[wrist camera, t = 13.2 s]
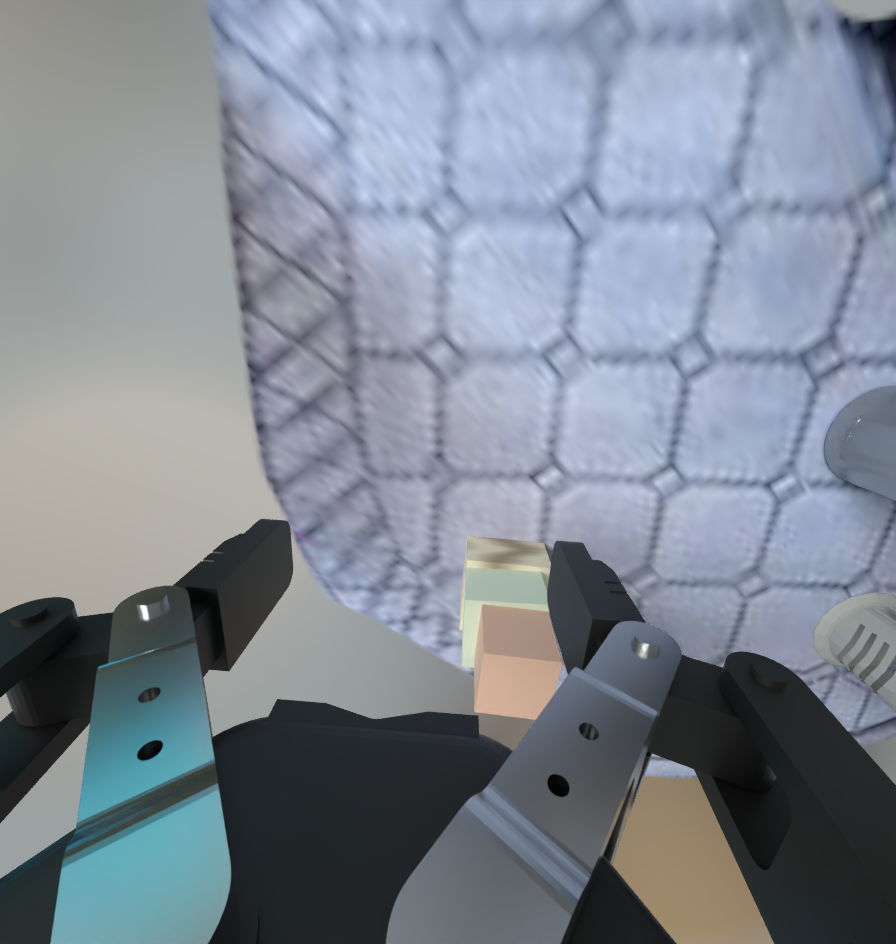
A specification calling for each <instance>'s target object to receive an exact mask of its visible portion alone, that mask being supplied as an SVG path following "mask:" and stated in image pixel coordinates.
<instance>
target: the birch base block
mask: <svg viewBox="0 0 896 944" xmlns="http://www.w3.org/2000/svg"><path fill="white" fill-rule="evenodd" d="M466 567H473V568H490V569H508V570H525V571H541V574H542V577H543V581H544V584H545V587H546V591H547V587H548V580H549V574H550V568H551V562H550V559H549V556H548V553H547V551H546V548H545V545H544V543H537V542H526V541H516V540H506V539H496V538H485V537H475V536H467V544H466V553H465V562H464V572H463V581H462V590H461V600H460V624H459V630H463V610H464V592H465V573H466Z"/></svg>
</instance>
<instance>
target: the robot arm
mask: <svg viewBox="0 0 896 944" xmlns="http://www.w3.org/2000/svg"><path fill="white" fill-rule="evenodd" d="M825 457H826V462H827V464H828V465H829V467H830V469H831V470H832V471H833V473H834V474H835V475H836V476H838V477H839V478H841V479H843V480H844V481H847V482H849V483H852V484H854V485H857V486H859V487H862V488H864V489H867V490H870V491H872V492H875V493H877V494H880V495H882V496H884V497H887V498H889V499H892V500H894V501H896V386H887V387H882V388H879V389H875V390H872V391H870V392H868V393H866V394H864V395H862V396H860V397H858V398H857V399H855V400H854V401H853V402H851V403H850V404H849V405H848V406H847V407H845V408H844V409H843V410H842V411H841V412H840V414H839V415H838V416H837V418H836V419H835V420H834V422H833V423H832V425H831V427H830V429H829V431H828V434H827V437H826V441H825ZM292 574H293V560H292V546H291V532H290V525H289V523H288V522H287V521H283V520H270V519H260V520H259V521H258V522H256V523H255V524H254V525H253V526H252V527H251V528H250V529H249V530H248V531H246V533H244V534H239V535H237V536H235V537H233V538H230V539H228V540H226V541H224V542H223V543H222V544H221V545H219V547H217V548H216V549H215V550H214V551H213V553H210V554H209V555H208V556H207V557H206V558H204V559H203V562H200V563H199V564H198V565H196V566H195V567H194V568H193V569H192V570H190V571H189V572H188V573H187V574H186V575H185V576H184V577H182V578H181V579H180V580H179V581H178V582H177V583H175V584H174V585H173V586H160V587H154V588H150V589H146V590H144V591H140V592H138V593H136V594H134V595H132V596H130V597H128V598H127V599H125V600H124V601H122V602H121V603H120V604H119V605H118V606H117V607H116V608H115V610H114V612H113V613H105V614H97V615H89V616H80V617H78V616H77V613H76V609H75V606H74V603H73V601H72V600H70V599H67V598H61V597H52V598H44V599H38V600H34V601H30V602H27V603H24V604H21V605H18V606H16V607H13V608H11V609H9V610H7V611H4V612H3V613H1V614H0V697H2V696H3V695H4V694H5V693H6V695H7V697H8V700H9V702H10V705H11V708H12V710H13V711H12V712H11V713H10V714H9V715H8V716H6V717H5V718H4V719H3V720H2V721H1V722H0V823H1V822H2V821H3V820H4V819H5V817H6V816H7V815H8V814H9V813H10V812H11V811H12V809H13V808H14V807H15V806H16V805H17V804H18V803H19V801H21V800H22V798H23V797H24V796H25V795H26V794H27V793H28V792H29V791H30V789H31V788H32V787H33V786H34V785H35V784H36V783H37V781H39V779H40V778H41V777H42V776H43V775H44V774H45V773H46V772H47V770H48V769H49V768H50V767H51V766H52V765H53V764H54V763H55V761H56V760H57V759H58V758H59V757H60V756H61V755H62V754H63V753H64V751H65V750H66V749H67V748H68V747H69V746H70V745H71V744H72V742H73V741H74V740H75V739H76V738H77V737H78V735H80V734H81V732H82V731H83V730H84V729H85V728H86V727H87V726H88V724H89V723H90V727H89V734H88V742H87V749H86V757H85V765H84V772H83V780H82V788H81V796H80V803H79V811H78V818H77V825H76V828H75V829H74V830H73V831H71V832H69V833H68V834H66V835H65V836H63V837H62V838H60V839H59V840H58V841H56V842H55V843H53V844H52V845H50V846H49V847H47V848H46V849H44V850H43V851H41V852H40V853H38V854H37V855H35V856H34V857H32V858H31V859H29V860H28V861H26V862H25V863H23V864H22V865H20V866H19V867H17V868H16V869H14V870H13V871H11V872H10V873H9V874H7V875H5V876H4V877H2V878H1V879H0V944H676V943H675V941H674V940H673V939H672V938H671V936H670V935H669V934H668V933H667V932H666V931H665V929H664V928H663V927H662V926H661V924H660V923H659V922H658V921H657V919H656V918H655V917H654V916H653V915H652V913H651V912H650V911H649V910H648V909H647V907H646V906H645V905H644V904H643V902H642V901H641V900H640V899H639V898H638V896H637V895H636V894H635V893H634V891H633V890H632V889H631V888H630V887H629V885H628V884H627V883H626V882H625V881H624V879H623V878H622V877H621V876H620V874H619V873H618V872H617V871H616V870H615V868H614V867H613V866H612V864H613V861H614V858H615V855H616V852H617V849H618V847H619V843H620V840H621V837H622V834H623V832H624V829H625V826H626V823H627V820H628V817H629V815H630V812H631V810H632V807H633V804H634V802H635V799H636V796H637V793H638V790H639V788H640V786H641V783H642V780H643V778H644V775H645V772H646V770H647V767H648V764H649V762H650V759H651V756H652V754H655V755H658V756H660V757H663V758H666V759H668V760H671V761H674V762H676V763H679V764H682V765H684V766H687V767H690V768H692V769H694V770H695V772H696V774H697V777H698V779H699V781H700V783H701V785H702V788H703V790H704V792H705V794H706V796H707V798H708V801H709V803H710V805H711V807H712V809H713V811H714V814H715V816H716V818H717V820H718V822H719V824H720V827H721V829H722V831H723V833H724V835H725V838H726V840H727V842H728V844H729V846H730V848H731V850H732V853H733V855H734V857H735V859H736V861H737V864H738V866H739V868H740V870H741V872H742V875H743V877H744V879H745V881H746V883H747V885H748V887H749V890H750V892H751V894H752V896H753V898H754V901H755V903H756V905H757V907H758V909H759V911H760V914H761V916H762V918H763V920H764V922H765V925H766V927H767V929H768V931H769V933H770V935H771V938H772V940H773V942H774V944H896V785H895V784H894V783H893V782H892V781H891V780H890V779H889V777H887V775H886V774H885V773H884V772H883V771H882V770H881V768H880V767H879V766H878V765H877V764H876V763H875V762H874V761H873V759H872V758H871V757H870V756H869V755H868V754H867V753H866V751H865V750H864V749H863V748H862V747H861V746H860V745H859V744H858V742H857V741H856V740H855V739H854V738H853V737H852V736H851V735H850V733H849V732H848V731H847V730H846V729H845V728H844V727H843V726H842V724H841V723H840V722H839V721H838V720H837V719H836V718H835V717H834V715H833V714H832V713H831V712H830V711H829V710H828V709H827V708H826V706H825V705H824V704H823V703H822V702H821V701H820V700H819V699H818V697H817V696H816V695H815V694H814V693H813V692H812V691H811V690H810V688H809V687H808V686H807V685H806V684H805V683H804V682H803V681H802V680H801V679H800V678H799V677H798V676H797V675H796V674H795V673H793V672H792V671H791V670H789V669H788V668H786V667H785V666H783V665H781V664H780V663H778V662H776V661H774V660H771V659H769V658H767V657H764V656H761V655H758V654H754V653H750V652H734V653H731V654H729V655H728V656H727V658H726V661H725V663H724V666H723V668H722V667H719V666H716V665H712V664H709V663H705V662H702V661H699V660H695V659H692V658H689V657H686V656H684V655H682V652H681V649H680V647H679V645H678V644H677V643H676V641H675V640H674V639H673V638H672V637H671V636H669V635H668V634H667V633H665V632H664V631H662V630H660V629H659V628H657V627H655V626H652V625H649V624H646V623H645V621H644V619H643V618H642V616H641V615H640V613H639V611H638V610H637V608H636V606H635V605H634V603H633V601H632V600H631V598H630V597H629V595H628V594H627V592H626V590H625V588H624V587H623V585H621V582H620V580H619V579H618V577H617V575H616V574H615V572H614V571H613V570H612V569H611V568H609V567H608V566H607V565H606V564H604V563H603V562H602V561H599V560H592V559H591V557H590V555H589V553H588V551H587V549H586V548H585V546H584V544H583V543H579V542H566V541H556V543H555V545H554V549H553V555H552V562H551V568H550V574H549V580H548V587H547V603H548V608H549V612H550V615H551V619H552V622H553V625H554V629H555V632H556V636H557V639H558V643H559V646H560V649H561V653H562V656H563V660H564V663H565V666H566V670H567V673H568V676H567V678H566V679H565V680H564V682H563V683H562V684H561V686H560V687H559V688H558V690H557V691H556V693H555V694H554V695H553V697H552V698H551V699H550V701H549V702H548V704H547V705H546V706H545V708H544V709H543V710H542V712H541V713H540V715H539V716H538V717H537V719H536V720H535V721H534V723H533V724H532V726H531V727H530V728H529V730H528V731H527V733H526V734H525V735H524V737H523V738H522V739H521V741H520V742H519V743H518V745H517V746H516V748H515V749H514V750H513V751H512V750H510V749H509V748H508V747H506V746H504V745H503V744H501V743H500V742H498V741H495V740H493V739H491V738H489V737H487V736H484V735H481V734H479V724H478V723H479V722H478V721H479V720H478V716H475V715H462V714H450V713H438V712H423V713H417V714H410V715H403V716H397V717H390V718H383V719H371V718H368V717H365V716H362V715H359V714H356V713H353V712H350V711H347V710H344V709H341V708H339V707H336V706H333V705H330V704H327V703H317V702H305V701H293V700H281V699H277V701H276V703H275V705H274V707H273V709H272V711H271V713H270V714H269V716H268V717H264V718H260V719H255V720H251V721H248V722H245V723H242V724H239V725H236V726H234V727H232V728H230V729H228V730H225V731H223V732H221V733H219V734H218V735H216V736H214V737H213V734H212V728H211V722H210V715H209V709H208V703H207V697H206V691H205V685H204V679H203V677H204V676H205V674H206V673H207V672H208V671H209V670H221V671H230V669H231V668H232V666H233V665H234V664H235V662H236V661H237V659H238V658H239V656H240V655H241V654H242V652H243V651H244V649H245V648H246V647H247V645H248V644H249V642H250V641H251V639H252V638H253V637H254V635H255V634H256V632H257V631H258V629H259V628H260V627H261V625H262V624H263V622H264V621H265V620H266V618H267V617H268V615H269V614H270V612H271V611H272V610H273V608H274V607H275V605H276V604H277V602H278V601H279V599H280V598H281V597H282V595H283V594H284V592H285V591H286V590H287V588H288V587H289V584H290V582H291V578H292Z"/></svg>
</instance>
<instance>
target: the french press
mask: <svg viewBox="0 0 896 944" xmlns="http://www.w3.org/2000/svg"><path fill="white" fill-rule="evenodd" d="M814 648H815V649H816V651H817V653H818V654H819V656H820V658H822V659H824V660H825V661H827V662H829V663H830V664H832V665H835V666H841V667H846V668H847V669H848V670H849V671H850V672H852V673H854V675H855V676H856V677H857V678H858V679H859V680H860V681H862V682H863V683H865V684H866V686H867V687H868V688H869V689H871V690H872V689H873V690H872V691H873V692H874V693H876V694H878V696H879V698H880V699H882V700H883V701H884V702H885V703H886V704H887V705H888V706H890V707H891V708H892V709H893V710H894V711H895V712H896V670H894V671H893V672H892V671H891V670H889V669H888V667H889V666H891V665H892V664H893V663H895V662H896V597H895V596H894V595H889V594H882V593H875V592H874V593H868V594H862V595H856V596H853V597H851V598H849V599H847V600H845V601H842V602H840V603H838V604H836V605H835V606H834V607H833V608H832V609H830V610H829V611H828V612H827V613H826V614H825V615H824V616H823V617H822V618H821V619H820V621H819V623H818V625H817V627H816V629H815V631H814ZM849 668H850V669H851V670H852V671H851V670H850V669H849ZM860 678H861V679H862V680H861V679H860Z"/></svg>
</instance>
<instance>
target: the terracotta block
mask: <svg viewBox="0 0 896 944" xmlns="http://www.w3.org/2000/svg"><path fill="white" fill-rule="evenodd" d="M561 666H562V659H561V656H560V652H559V648H558V645H557V641H556V637H555V634H554V630H553V626H552V623H551V619H550V616H549V612H547V611H538V610H529V609H521V608H512V607H504V606H495V605H487V604H482V607H481V614H480V621H479V627H478V634H477V641H476V648H475V654H474V699H475V700H474V702H475V703H474V706H475V709H474V710H475V712H479V713H487V714H495V715H503V716H511V717H519V718H528V719H537V717H538V716H539V715H540V713H541V712H542V710H543V709H544V708H545V706H546V705H547V704H548V702H549V701H550V699H551V698H552V697H553V695H554V694H555V691H556V687H557V683H558V679H559V675H560V670H561Z"/></svg>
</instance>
